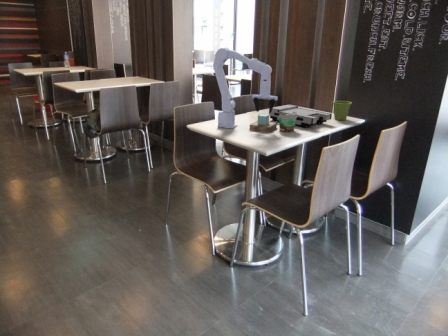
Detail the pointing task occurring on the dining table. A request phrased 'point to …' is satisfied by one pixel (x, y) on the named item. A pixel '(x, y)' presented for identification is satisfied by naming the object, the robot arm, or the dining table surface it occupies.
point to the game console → (301, 115)
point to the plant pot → (341, 109)
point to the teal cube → (263, 119)
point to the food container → (287, 122)
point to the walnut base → (263, 127)
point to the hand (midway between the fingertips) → (263, 112)
